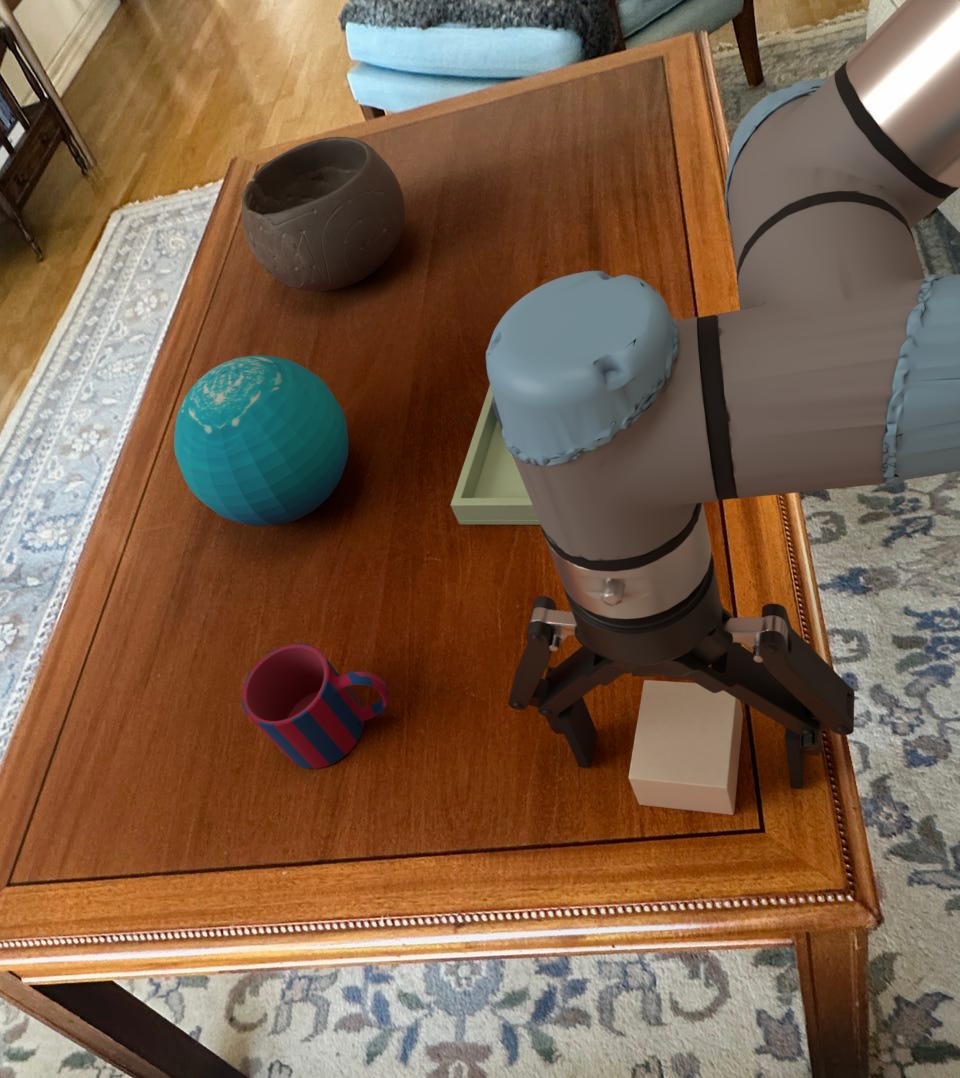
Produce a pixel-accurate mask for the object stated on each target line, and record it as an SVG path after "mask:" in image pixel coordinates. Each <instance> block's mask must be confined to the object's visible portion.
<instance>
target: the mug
mask: <svg viewBox="0 0 960 1078" xmlns="http://www.w3.org/2000/svg"><path fill="white" fill-rule="evenodd" d="M355 685H362V686H367V687H370V688H373V689H374V690H375V691H377V692H378V693H379V694H380V697H382V698H381V699H380V700H378V701H377V702H375V703H373V704H370V705H366V706H363V705H362V703H361V701H360V700H359V699H358V697H357V696H356V695H355V693H354V692H353V691H352V690H351V688H350V687H349V686H355ZM390 702H391V691H390V688H389V686H388V684H387V683H386V681H384V680H383V679H382V677H380V676H378V675H376V674H374V673H371V672H368V671H359V670H358V671H350V672H347V673H343V674H339V673H338V671H337V670H336V668H335V667H334V666H333V665H332V664H331V662H330V661H329V659H328V658H327V657H326V655H325V654H324V653H323V652H322V651H321V650H320V649H319V648H318V647H316V646H313V645H312V644H308V643H303V642H302V643H301V642H298V643H290V644H289V643H288V644H287V645H286V644H285V645H283V646H279V647H277V648H275V649H273V650H271V651H270V652H268V653H267V654H265V655H263V657H262V658H260V660H258V661H257V662H256V663H255V665H254V666H253V667H252V668H251V669H250V671H249V673H248V674H247V676H246V679H245V680H244V682H243V687H242V690H241V704H242V707H243V711H244V712H245V714H246V715H247V717H248V718H249V719H250V720H251V721H252V722H253V723H254V724H255V725H256V726H257V727H258V728H259V730H261V731H262V732H263V733H264V734H265V735H266V737H267V738H268V739H269V740H270V741H271V742H272V743H273V745H275V746H276V747H277V748H278V749H279V750H280V751H281V753H283V755H285V757H286V758H287V759H289V761H290V762H292V764H294V765H296V766H298V767H300V768H303V769H310V770H314V769H315V770H316V769H322V768H326V767H328V766H332V765H334V764H335V763H338V762H339V761H340V760H342V759H343V758H344V757H346V756H347V755H348V754H349V753H350V752H351V751H352V750H353V748H354V747H355V746H356V745H357V743H358V741H359V739H360V737H361V735H362V733H363V730H364V725H365V721H367V720H370V719H373V718H375V717H377V716H379V715H381V714H383V713H384V712H385V711H386V710H387V708H388V707H389V705H390Z"/></svg>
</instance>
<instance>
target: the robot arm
mask: <svg viewBox="0 0 960 1078" xmlns="http://www.w3.org/2000/svg"><path fill="white" fill-rule="evenodd" d="M726 167H727V168H726V171H727V173H726V179H725V188H724V203H725V210H726V220H727V222H728V224H729V227H730V231H731V232H730V233H731V239H732V246H733V247H732V248H733V255H734V262H735V270H736V285H737V293H738V304H739V309H738V310H732V311H726V312H721V313H717V314H710V315H706V316H699V317H698V316H694V317H689V318H682V319H677V320H676V319H675V318H674V317H673V316H672V314H671V312H670V311H669V309H668V306H667V303H666V301H665V299H664V298H663V296H662V295H661V294H660V292H659V291H658V290H657V289H656V288H654V287H653V286H652V285H651V284H649V283H647V282H646V281H645V280H643V279H642V278H640V277H637V276H635V275H631V274H625V273H624V274H620V275H618V276H615V277H613V276H611V275H609V274H608V273H606V272H604V271H603V270H588V271H581V272H575V273H571V274H568V275H564V276H561V277H558V278H555V279H553V280H550V281H548V282H545V283H544V284H542V285H539V286H538V287H535V288H534V289H532V290H531V291H530V292H528V293H527V294H525V295H524V296H522V297H521V298H520V299H518V301H516V302H515V303H514V304H512V306H511V307H510V308H509V309H508V310H507V311H506V312H505V313H504V314H503V316H502V317H501V318H500V320H499V321H498V323H497V324H496V326H495V328H494V330H493V332H492V335H491V338H490V341H489V343H488V345H487V349H486V351H485V364H486V374H487V378H488V381H489V386H490V385H491V388H492V392H493V395H494V398H495V402H496V405H497V408H498V412H499V415H500V419H501V422H502V425H503V428H502V437H503V439H504V442H505V444H506V447H507V449H508V451H509V452H510V453H511V454H512V456H513V458H514V461H515V463H516V466H517V468H518V470H519V473H520V475H521V478H522V480H523V483H524V485H525V488H526V490H527V493H528V495H529V497H530V500H531V502H532V505H533V507H534V510H535V512H536V515H537V517H538V520H539V522H540V524H541V525H540V527H541V531H542V534H543V537H544V540H545V542H546V545H547V547H548V550H549V553H550V556H551V559H552V561H553V565H554V567H555V569H556V572H557V575H558V577H559V580H560V582H561V584H562V586H563V589H564V593H565V597H566V600H567V603H568V605H569V608H570V610H571V611H568V610H558V609H557V608H558V607H557V603H556V601H555V600H554V599H553V598H551V597H549V596H545V595H540V596H537V597H535V598H534V602H533V605H532V609H531V614H530V618H529V621H528V626H527V630H526V634H525V639H526V642H527V644H526V645H525V648H524V651H523V653H522V654H521V657H520V660H519V662H518V664H517V667H516V669H515V673H514V677H513V682H512V684H511V689H510V693H509V697H508V702H507V705H508V706H509V707H510V708H512V709H513V710H516V711H517V710H518V711H524V710H526V709H527V708H528V706H531V707H535V708H537V713H538V714H540V715H541V716H543V717H545V720H546V722H547V724H548V726H549V728H550V730H551V731H552V732H554V733H555V734H556V735H564V737H565V739H566V741H567V743H568V745H569V748H570V750H571V752H572V755H573V757H574V758H575V761H576V763H577V765H578V767H579V768H585V769H586V768H587V769H591V766H592V760H593V756H594V750H595V745H596V738H597V733H598V731H597V729H596V726H595V723H594V721H593V719H592V716H591V713H590V711H589V709H588V706H587V704H586V702H585V699H584V696H586V695H587V694H588V693H590V692H592V690H594V689H595V688H596V687H598V686H599V685H602V686H604V687H607V686H609V685H610V684H612V683H613V682H614V681H616V680H617V679H619V678H620V677H621V676H623V675H624V674H626V675H628V674H631V675H632V677H643V678H648V677H649V678H650V677H664V678H669V679H674V680H690V681H691V682H692V683H697V684H698V685H700V686H702V687H703V688H705V689H707V690H709V691H710V692H712V693H718V692H721V691H725V692H727V693H728V694H730V695H732V696H733V697H735V698H737V699H738V700H740V702H741V703H742V702H743V703H744V704H745V705H747V706H748V707H750V708H752V709H754V710H756V711H757V712H759V713H760V714H762V715H764V716H766V717H768V718H769V719H771V720H773V721H774V722H776V723H778V724H779V725H781V726H783V727H785V728H784V729H785V730H784V744H785V745H784V746H785V751H786V752H785V755H786V762H787V770H788V779H789V788H790V789H795V790H804V779H805V778H804V777H805V761H806V760H805V758H806V756H814V757H819V756H820V755H821V754H822V750H823V731H824V730H830V731H831V732H832V733H833V734H835V735H840V736H848V735H852V734H853V733H854V732H855V690H854V689H853V688H852V687H851V686H850V685H849V684H848V683H847V682H846V681H845V680H844V679H843V678H842V677H841V676H840V674H838V673H837V672H836V671H835V670H834V669H833V668H832V667H831V666H830V665H829V664H828V663H827V662H826V661H825V659H823V658H822V657H821V656H820V655H819V654H818V653H817V651H816V650H814V648H812V647H811V646H810V644H809V643H807V642H806V640H805V639H803V638H802V636H801V635H800V634H799V633H798V632H797V631H795V629H793V627H792V625H791V621H790V618H789V615H788V612H787V609H786V607H785V606H783V605H782V604H779V603H773V602H772V603H767V604H764V605H763V606H762V607H761V608H762V610H761V616H760V617H759V616H758V617H757V616H755V617H754V616H753V617H733V615H732V614H731V613H730V611H728V610H727V609H726V608H725V607H724V606H723V605H722V601H721V595H720V590H719V584H718V577H717V571H716V567H715V561H714V557H713V553H712V542H711V536H710V531H709V527H708V521H707V516H706V512H705V507H704V503H714V502H719V501H725V500H734V499H735V500H737V499H745V498H756V497H758V498H759V497H766V496H767V497H768V496H776V495H786V494H798V493H806V492H816V491H825V490H826V491H827V490H835V489H836V490H837V489H847V488H855V487H856V488H857V487H864V486H875V485H885V486H887V487H889V486H897V485H902V484H903V483H904V482H905V481H907V480H914V479H919V478H925V477H933V476H938V475H939V476H940V475H945V474H950V473H956V472H960V273H957V274H956V273H955V274H942V273H939V272H938V273H937V274H935V273H934V274H933V273H930V274H929V276H926V275H925V272H924V269H923V266H922V262H921V260H920V256H919V253H918V249H917V247H916V245H917V244H916V242H915V241H916V240H915V237H914V234H913V231H912V230H911V229H912V228H913V227H915V226H916V225H917V224H918V223H920V222H921V221H922V220H923V219H924V218H926V217H927V216H928V215H929V214H930V213H932V212H933V211H934V210H936V209H937V208H938V207H939V206H940V205H941V204H943V202H945V201H946V200H947V199H948V198H949V197H950V196H951V195H953V194H954V193H955V192H956V191H957V190H959V189H960V0H905V1H904V2H902V4H901V5H900V6H899V7H898V8H897V9H896V10H895V11H894V12H893V13H892V14H890V16H889V17H888V18H887V19H886V20H885V21H884V22H883V23H882V24H881V25H880V26H879V27H878V28H877V29H876V30H875V31H874V32H873V33H872V34H871V35H870V36H869V37H868V38H867V39H866V40H865V41H864V42H863V43H862V44H861V45H860V46H859V48H857V50H856V51H854V53H852V54H851V55H850V56H849V58H848V59H846V60H845V62H843V64H842V65H841V66H840V67H838V69H837V70H836V71H835V72H833V74H831V76H829V77H828V78H809V79H802V80H799V81H796V82H794V83H793V84H789V85H787V86H784V87H782V88H780V89H778V90H776V91H774V92H770V93H769V94H767V95H766V96H764V97H762V98H761V99H760V100H759V101H758V102H757V103H756V104H755V105H753V106H752V107H751V109H750V110H749V111H748V112H747V113H746V114H745V116H744V117H743V118H742V120H741V122H740V123H739V125H738V126H737V128H736V130H735V132H734V134H733V137H732V139H731V141H730V146H729V150H728V153H727V163H726ZM572 636H573V637H574V636H575V638H576V641H577V642H578V643H579V644H580V645H582V646H580V647H579V648H578V649H577V650H575V651H574V652H573V653H572V654H570V655H569V656H568V657H566V659H564V660H563V661H562V662H561V663H559V664H558V665H556V667H554V666H552V667H551V665H549V663H550V660H551V656H552V652H553V653H554V652H555V653H556V652H558V651H559V649H560V645H561V644H564V643H566V641H567V638H569V637H572ZM743 645H744V646H743ZM746 647H747V648H746ZM545 672H546V673H545ZM544 673H545V677H544V678H542V677H543V675H544Z"/></svg>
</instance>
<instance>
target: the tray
mask: <svg viewBox="0 0 960 1078" xmlns="http://www.w3.org/2000/svg"><path fill="white" fill-rule="evenodd" d="M492 398H493V392H492V388H491V385H490V384H489V386H488V389H487V393H486V396H485V399H484V401H483V405H482V408H481V410H480V414H479V416H478V420H477V422H476V426H475V429H474V431H473V435H472V439H471V441H470V444H469V447H468V451H467V454H466V456H465V460H464V463H463V465H462V469H461V472H460V474H459V478H458V481H457V484H456V487H455V490H454V493H453V496H452V499H451V502H450V508H451V510H452V512H453V514H454V516H455V518H456V520H457V522H458V524H459V525H491V526H492V525H493V526H494V525H502V526H503V525H504V526H505V525H509V526H511V525H513V526H514V525H519V526H520V525H521V526H524V525H525V526H527V525H528V526H529V525H530V526H533V525H534V526H535V525H537V526H541V524H540V522H539V520H538V517H537V515H536V512H535V510H534V507H533V505H532V502H531V500H530V497H529V495H528V493H527V490H526V488H525V485H524V483H523V480H522V478H521V475H520V473H519V470H518V468H517V466H516V463H515V461H514V458H513V456H512V454H511V453H510V452H509V451H508V449H507V447H506V444H505V442H504V439H503V437H502V430H501V427H500V425H499V422H498V419H497V417H496V414H495V412H494V409H493V407H492V404H491V401H492Z"/></svg>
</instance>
